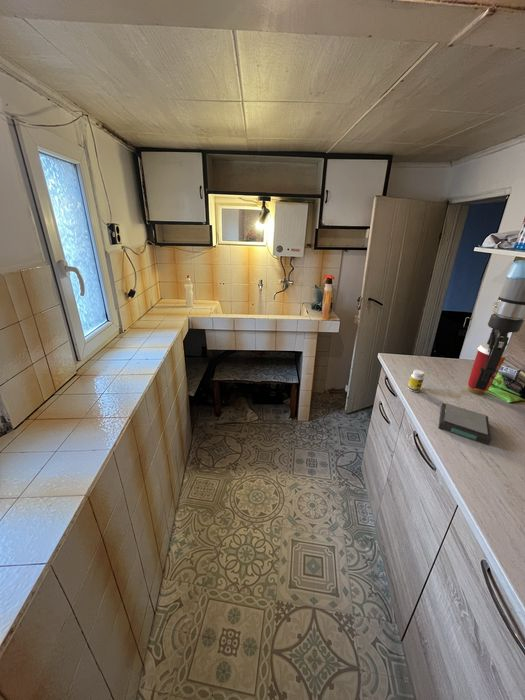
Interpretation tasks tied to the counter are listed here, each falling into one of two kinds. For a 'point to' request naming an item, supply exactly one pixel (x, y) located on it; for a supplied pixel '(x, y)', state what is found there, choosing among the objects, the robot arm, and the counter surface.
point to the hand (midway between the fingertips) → (479, 383)
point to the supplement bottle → (416, 381)
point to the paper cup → (480, 362)
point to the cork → (475, 391)
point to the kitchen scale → (465, 423)
